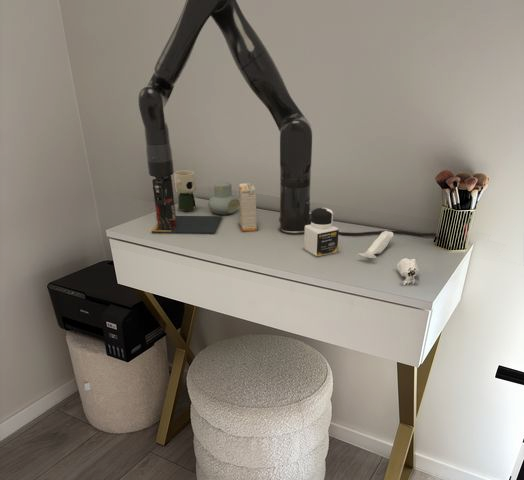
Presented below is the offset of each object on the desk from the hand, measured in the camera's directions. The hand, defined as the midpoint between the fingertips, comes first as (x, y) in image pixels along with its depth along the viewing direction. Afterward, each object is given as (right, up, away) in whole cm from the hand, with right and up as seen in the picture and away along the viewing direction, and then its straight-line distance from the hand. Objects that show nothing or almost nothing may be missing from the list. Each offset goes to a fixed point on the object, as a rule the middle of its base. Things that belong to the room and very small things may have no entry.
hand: (165, 213), depth 169 cm
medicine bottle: (+48, -15, -15) cm, 52 cm away
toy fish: (+63, -16, -17) cm, 68 cm away
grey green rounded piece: (+17, +4, +17) cm, 25 cm away
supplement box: (+26, -4, +4) cm, 27 cm away
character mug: (+4, +6, +20) cm, 21 cm away
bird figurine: (+68, -25, -31) cm, 79 cm away
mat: (+6, -3, +6) cm, 9 cm away
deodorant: (0, -4, +3) cm, 5 cm away
